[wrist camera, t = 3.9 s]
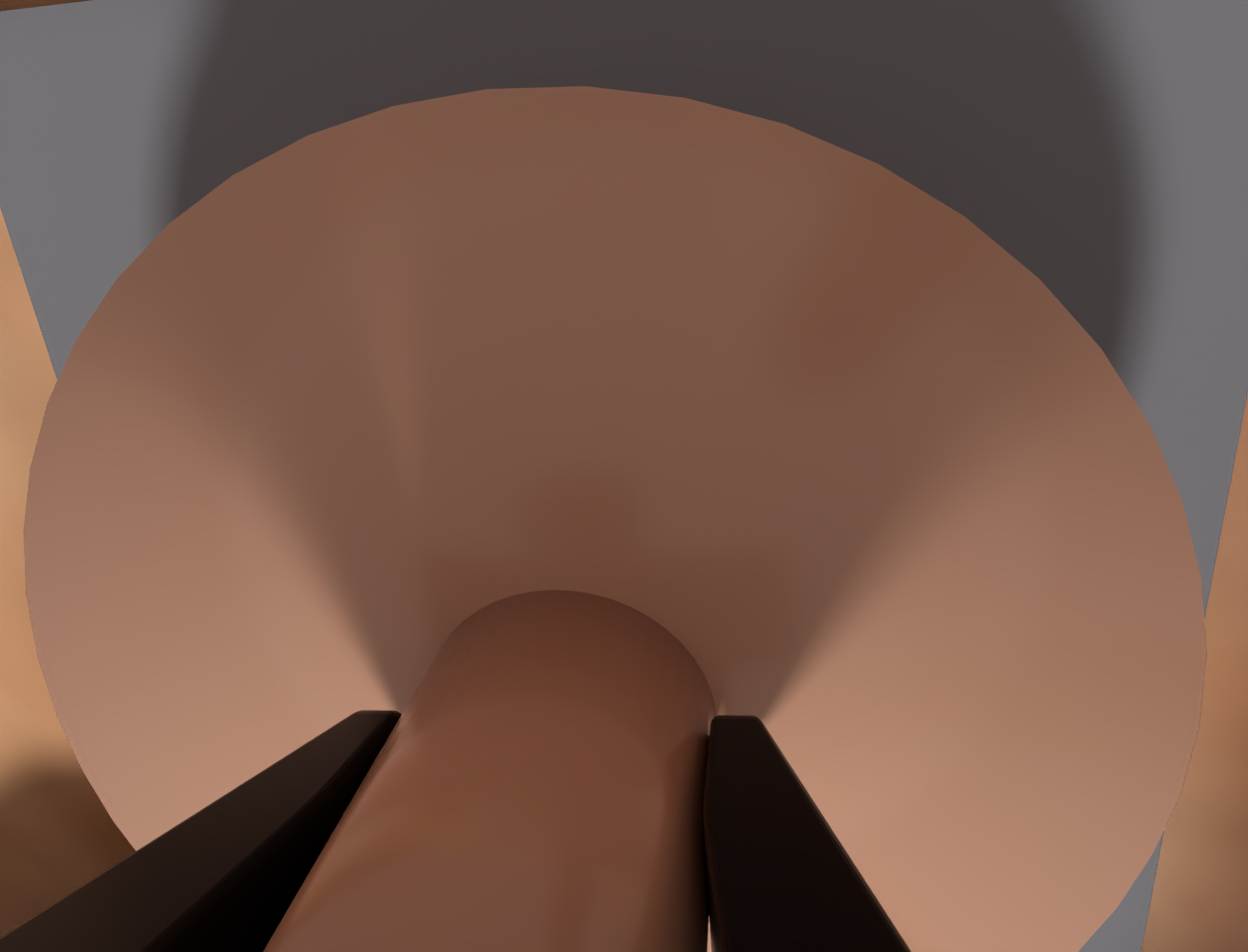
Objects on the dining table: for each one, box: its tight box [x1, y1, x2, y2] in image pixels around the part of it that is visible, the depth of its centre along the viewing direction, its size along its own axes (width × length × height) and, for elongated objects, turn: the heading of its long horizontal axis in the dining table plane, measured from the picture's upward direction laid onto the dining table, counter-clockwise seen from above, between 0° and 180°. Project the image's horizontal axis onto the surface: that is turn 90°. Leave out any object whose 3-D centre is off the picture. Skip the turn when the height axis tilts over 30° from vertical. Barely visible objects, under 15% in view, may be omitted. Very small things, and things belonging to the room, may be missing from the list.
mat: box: [0, 0, 1248, 952], centre depth 11 cm, size 14×14×1 cm
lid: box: [24, 86, 1207, 952], centre depth 7 cm, size 11×11×6 cm
